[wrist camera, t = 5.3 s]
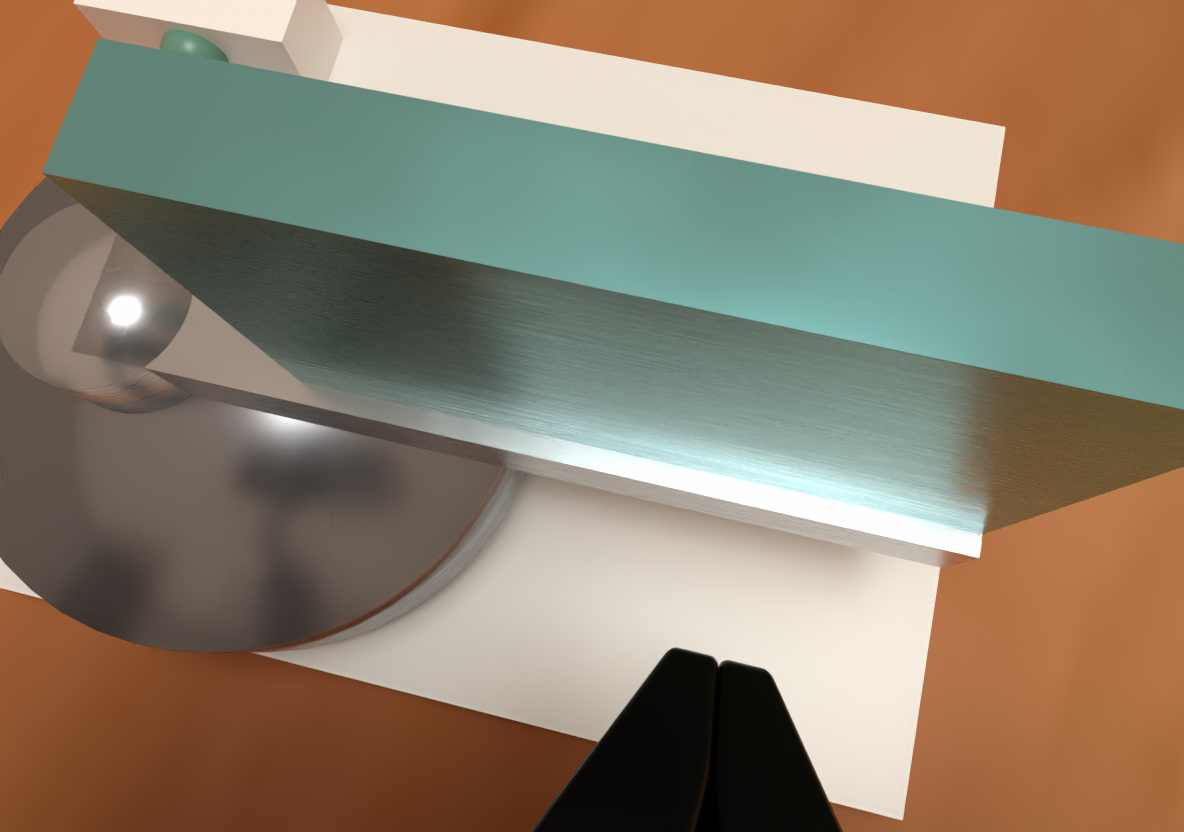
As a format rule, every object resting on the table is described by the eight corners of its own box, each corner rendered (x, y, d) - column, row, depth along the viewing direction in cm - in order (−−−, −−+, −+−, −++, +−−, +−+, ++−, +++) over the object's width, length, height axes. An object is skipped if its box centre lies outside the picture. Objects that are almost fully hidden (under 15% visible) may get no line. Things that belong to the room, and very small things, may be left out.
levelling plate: (-31, 574, 17) (-167, 558, 14) (193, 7, 20) (118, -101, 17) (885, 809, 15) (943, 847, 13) (985, 154, 18) (1052, 61, 15)
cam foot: (-53, 579, 15) (-937, 486, 7) (136, 109, 17) (-355, -426, 9) (864, 815, 14) (1249, 1091, 5) (950, 270, 16) (1327, -184, 7)
